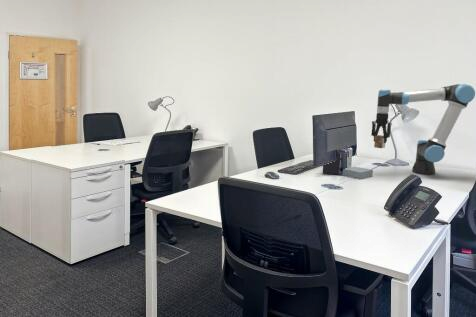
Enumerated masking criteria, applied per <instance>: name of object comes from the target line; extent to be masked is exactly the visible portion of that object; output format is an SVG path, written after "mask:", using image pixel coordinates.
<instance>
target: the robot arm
mask: <svg viewBox="0 0 476 317" xmlns="http://www.w3.org/2000/svg"><path fill="white" fill-rule="evenodd" d="M475 97H476V91H475V88H474V87H473V86H472V85H470V84H467V83H463V84H460V83H458V84H452V85H447V86H446V85H445V86H442V87H440V88H435V89H434V88H433V89H421V90H412V91H401V92H398V91H397V92H396V91H395V92H391V89H379V90H378V94H377V107H376V116H375V118H376V119H375V120H374V121H373V120H372V121H371V135H370V136H372V137H373V143H374V144H375V136H377V135H379V132H380V129H382V134H383V135H382V136H384V138H383V141H382V148H381V149H384V148H386V143H387V141H388V138H390V137H391V128H392V124H393V123H392V122H390V121H389V120H388V119H389V111H390V105H402V106H404V105H408V104H409V103H418V102H431V101H442V102H446V101H447V102H448V105H447V108H446V109H445V111H444V113H443V115H442V118H441V120H440V121H439V124H438V125H437V128H436V130H435V131H434V134H433V135H432V137H430V138H428V140H422V139H420V140H418V141H417V144H416V146H417V147H416V153H415V162H414V164H413V166H412V169H411V170H412V171H411V172H412V173H413V174H414V173H415V174H419V175H435V174H436V167H435V164H434V163H437V162H441V161H442V160H443V159H444V157H445V150H446V148H447V145H446V144H447V143H446V142H447V140H448V138H449V137H450V134H451V133H452V131H453V129H454V126H455V124H456V123H457V120H458V119H459V116H460V115H461V113H462V111H463V109H466V108H467V107H468V105H469V103H471V102H472V101H473V100H474V99H475ZM374 144H373V145H374Z"/></svg>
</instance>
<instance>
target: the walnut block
mask: <svg viewBox="0 0 476 317" xmlns="http://www.w3.org/2000/svg"><path fill="white" fill-rule="evenodd" d="M383 138H384V135H381V134H380V135H379V134H378V135H377V136H375V142H374V143H375V144H373V147H374V148H377V149H383V148H382V141H383Z"/></svg>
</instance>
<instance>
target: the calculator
mask: <svg viewBox="0 0 476 317" xmlns="http://www.w3.org/2000/svg"><path fill="white" fill-rule="evenodd" d="M340 158H341V153H337V160H336V161H335V162H332V163H329V164H326V165H323V164H322V174H323V175H332V176H333V175H335V176H340V170H341V169H340Z"/></svg>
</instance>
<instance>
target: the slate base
mask: <svg viewBox="0 0 476 317" xmlns="http://www.w3.org/2000/svg"><path fill="white" fill-rule="evenodd" d="M373 173H374V169H370V168H364V167H360V166H351V167H350V168H345V169H343V170H342V173H341V174H342V176H343V177H347V178H353V179H358V180H364V179H367V178H372V177H373V175H374V174H373Z"/></svg>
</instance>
